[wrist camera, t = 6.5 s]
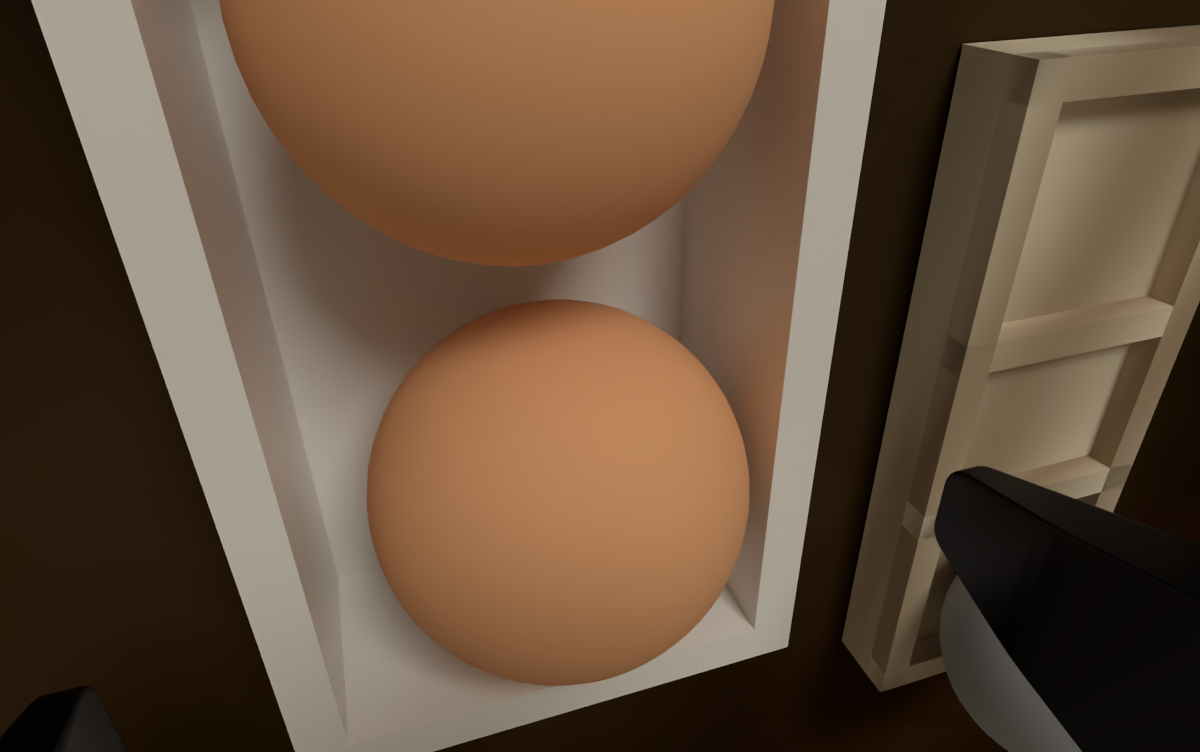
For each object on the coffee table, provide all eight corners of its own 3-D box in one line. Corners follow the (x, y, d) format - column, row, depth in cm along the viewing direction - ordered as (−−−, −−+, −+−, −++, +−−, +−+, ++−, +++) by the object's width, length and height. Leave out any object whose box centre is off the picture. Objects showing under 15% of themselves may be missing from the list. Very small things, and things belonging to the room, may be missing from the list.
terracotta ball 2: (644, 220, 11) (863, 369, 8) (640, 478, 14) (805, 685, 10) (306, 280, 10) (378, 502, 6) (368, 559, 12) (447, 840, 8)
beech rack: (1213, 24, 13) (1308, 35, 12) (1015, 588, 20) (1063, 633, 19) (962, 44, 12) (1039, 59, 11) (841, 640, 19) (879, 692, 17)
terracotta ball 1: (658, -277, 8) (963, -432, 4) (650, 164, 11) (845, 307, 7) (175, -298, 7) (33, -534, 3) (288, 205, 9) (283, 405, 6)
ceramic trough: (736, -396, 8) (971, -558, 5) (689, 498, 15) (787, 646, 12) (2, -459, 7) (-232, -746, 4) (305, 588, 13) (307, 788, 10)
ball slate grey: (1102, 458, 16) (1339, 622, 13) (1041, 613, 19) (1227, 790, 15) (914, 506, 15) (1115, 701, 12) (875, 665, 18) (1032, 870, 14)
